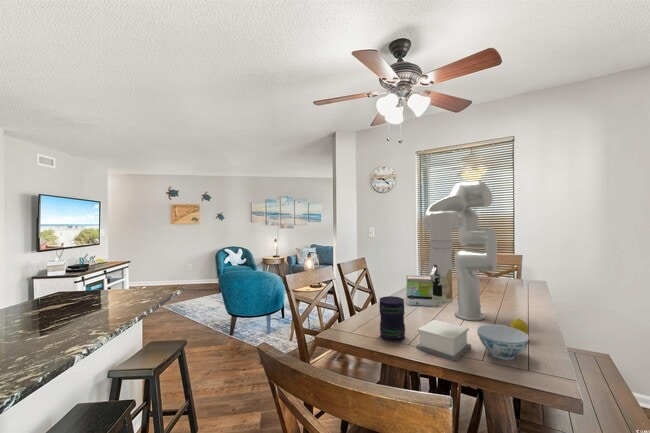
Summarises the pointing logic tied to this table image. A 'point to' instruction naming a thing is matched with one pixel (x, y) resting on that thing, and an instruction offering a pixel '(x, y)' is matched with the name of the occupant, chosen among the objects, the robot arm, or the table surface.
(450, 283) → the skincare box
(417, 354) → the table surface
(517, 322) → the lemon
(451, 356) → the display podium
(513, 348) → the chinaware
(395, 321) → the dark blue barrel
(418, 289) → the tea box
